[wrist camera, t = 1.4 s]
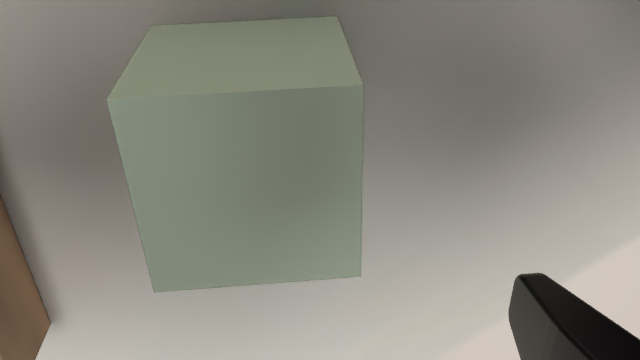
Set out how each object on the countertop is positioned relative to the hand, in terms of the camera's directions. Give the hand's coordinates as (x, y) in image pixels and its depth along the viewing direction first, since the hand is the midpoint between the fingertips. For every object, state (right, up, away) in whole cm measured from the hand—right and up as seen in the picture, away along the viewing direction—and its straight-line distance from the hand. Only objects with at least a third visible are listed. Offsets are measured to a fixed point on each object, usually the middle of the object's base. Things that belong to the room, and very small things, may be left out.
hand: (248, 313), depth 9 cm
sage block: (-1, +4, +7) cm, 9 cm away
